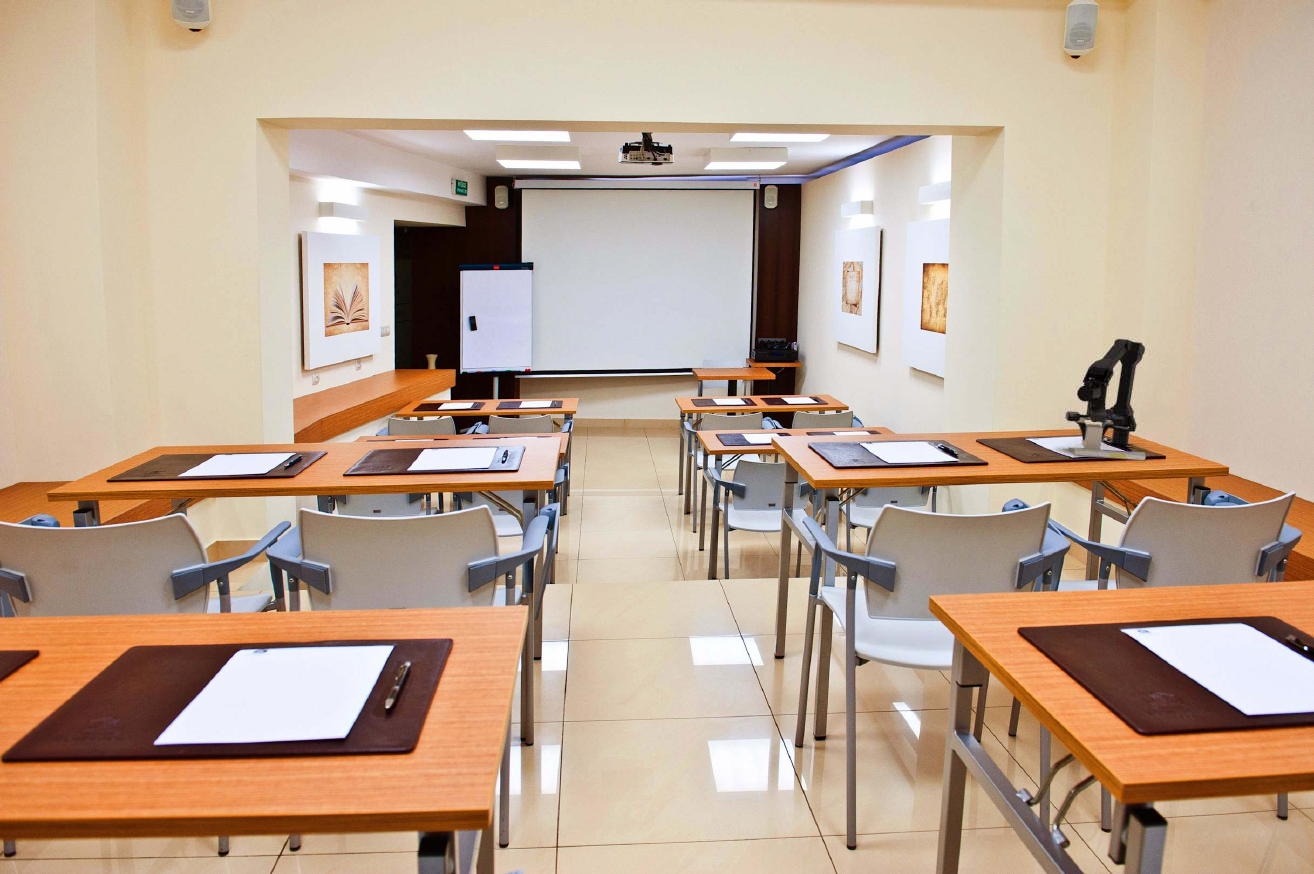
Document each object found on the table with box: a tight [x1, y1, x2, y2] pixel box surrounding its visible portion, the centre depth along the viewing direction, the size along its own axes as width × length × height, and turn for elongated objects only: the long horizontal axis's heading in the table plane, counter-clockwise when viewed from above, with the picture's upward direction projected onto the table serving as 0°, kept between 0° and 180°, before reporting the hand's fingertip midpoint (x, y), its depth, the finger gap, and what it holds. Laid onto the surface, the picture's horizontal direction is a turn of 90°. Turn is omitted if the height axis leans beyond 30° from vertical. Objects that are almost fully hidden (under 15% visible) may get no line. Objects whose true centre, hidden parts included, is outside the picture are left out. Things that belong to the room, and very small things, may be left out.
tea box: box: [1081, 422, 1103, 449], centre depth 332 cm, size 5×7×8 cm
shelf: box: [1068, 447, 1146, 461], centre depth 329 cm, size 13×23×3 cm, turn 75°
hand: (1091, 441), depth 332 cm, fingers closed on tea box, 5 cm apart
